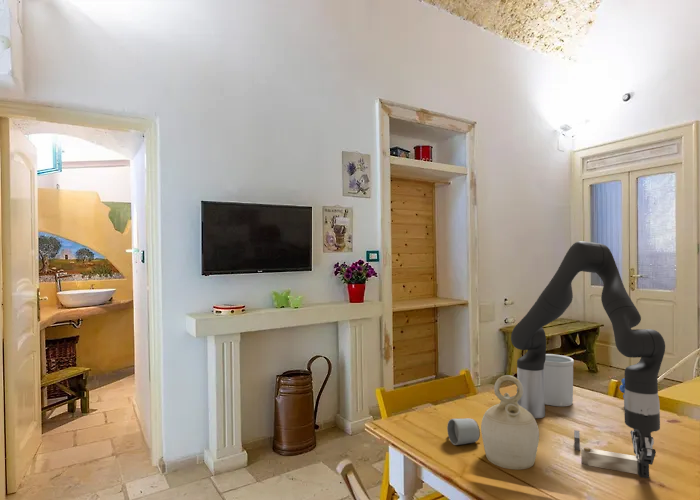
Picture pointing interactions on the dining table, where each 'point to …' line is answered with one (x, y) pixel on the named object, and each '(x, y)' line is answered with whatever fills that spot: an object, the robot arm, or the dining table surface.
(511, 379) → the jug
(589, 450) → the folding leg
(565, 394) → the utensil holder
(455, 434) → the ceramic mug
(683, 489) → the dining table surface
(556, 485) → the dining table surface
